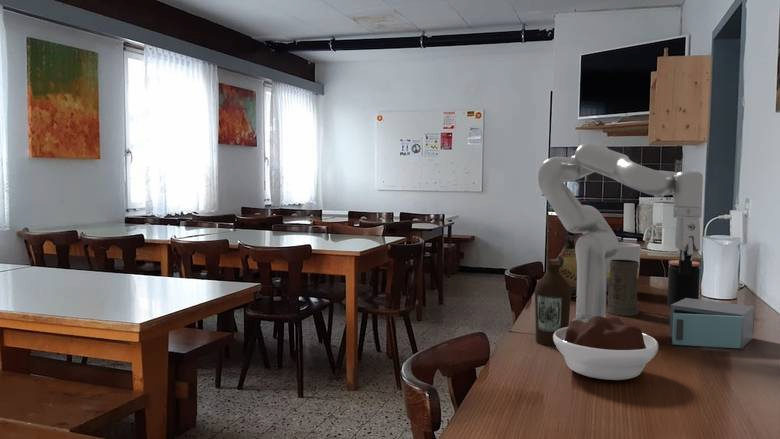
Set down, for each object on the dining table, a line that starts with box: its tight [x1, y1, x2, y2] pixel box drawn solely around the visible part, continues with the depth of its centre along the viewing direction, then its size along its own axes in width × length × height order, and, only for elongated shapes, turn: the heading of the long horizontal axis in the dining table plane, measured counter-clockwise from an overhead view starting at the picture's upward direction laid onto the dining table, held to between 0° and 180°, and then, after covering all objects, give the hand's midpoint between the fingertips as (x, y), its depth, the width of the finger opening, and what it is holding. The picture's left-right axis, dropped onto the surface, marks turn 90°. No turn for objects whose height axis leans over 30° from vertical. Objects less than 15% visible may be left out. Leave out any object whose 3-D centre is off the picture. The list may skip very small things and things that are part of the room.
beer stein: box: [606, 259, 640, 317], centre depth 225 cm, size 15×11×20 cm
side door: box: [671, 313, 745, 350], centre depth 178 cm, size 2×19×9 cm, turn 78°
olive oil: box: [534, 258, 572, 346], centre depth 182 cm, size 11×11×25 cm
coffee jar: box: [667, 259, 701, 308], centre depth 232 cm, size 11×11×18 cm
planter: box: [605, 241, 641, 293], centre depth 264 cm, size 20×20×21 cm
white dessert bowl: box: [553, 315, 659, 381], centre depth 152 cm, size 25×25×15 cm
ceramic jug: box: [555, 230, 579, 298], centre depth 256 cm, size 17×15×30 cm
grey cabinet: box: [668, 298, 755, 346], centre depth 190 cm, size 16×20×10 cm
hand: (684, 273), depth 182 cm, fingers closed
